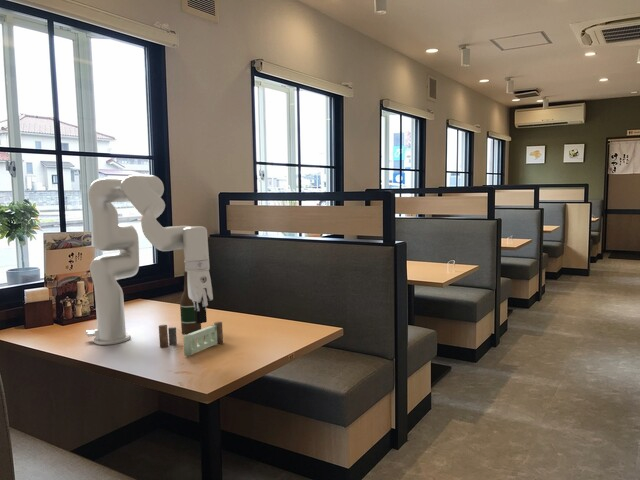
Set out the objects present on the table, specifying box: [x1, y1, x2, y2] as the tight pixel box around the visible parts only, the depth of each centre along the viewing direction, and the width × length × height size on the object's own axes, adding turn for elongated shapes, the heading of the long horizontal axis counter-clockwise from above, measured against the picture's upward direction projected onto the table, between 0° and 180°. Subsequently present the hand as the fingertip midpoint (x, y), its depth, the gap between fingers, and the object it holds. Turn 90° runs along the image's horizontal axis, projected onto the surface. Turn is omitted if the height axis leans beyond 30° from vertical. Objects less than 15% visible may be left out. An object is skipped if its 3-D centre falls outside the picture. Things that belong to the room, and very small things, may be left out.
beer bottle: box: [179, 270, 202, 335], centre depth 192 cm, size 8×8×24 cm
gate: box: [182, 324, 218, 357], centre depth 169 cm, size 15×2×6 cm, turn 151°
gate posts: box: [158, 321, 224, 349], centre depth 177 cm, size 22×4×8 cm, turn 96°
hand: (201, 322), depth 160 cm, fingers closed
